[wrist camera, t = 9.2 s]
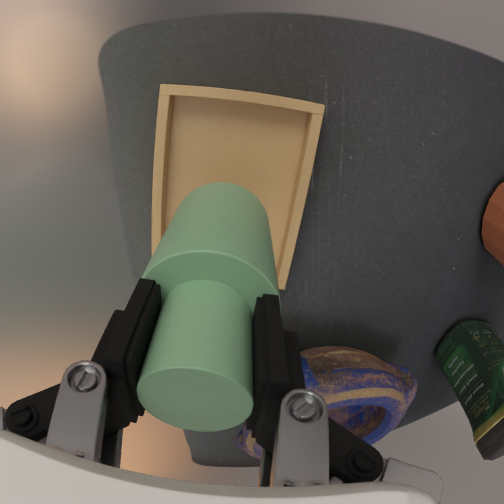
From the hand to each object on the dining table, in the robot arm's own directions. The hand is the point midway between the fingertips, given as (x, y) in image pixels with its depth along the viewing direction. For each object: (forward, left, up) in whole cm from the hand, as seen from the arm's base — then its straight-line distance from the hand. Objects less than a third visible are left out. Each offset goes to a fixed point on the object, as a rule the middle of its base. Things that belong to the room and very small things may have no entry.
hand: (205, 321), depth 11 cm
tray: (0, 0, -16) cm, 16 cm away
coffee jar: (+15, +33, -16) cm, 40 cm away
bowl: (+21, +13, -16) cm, 29 cm away
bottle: (0, 0, -8) cm, 8 cm away
